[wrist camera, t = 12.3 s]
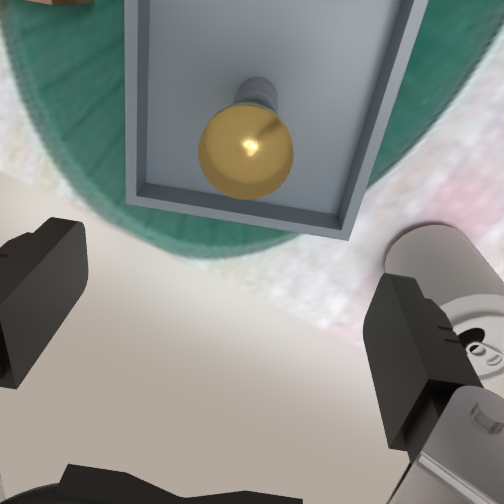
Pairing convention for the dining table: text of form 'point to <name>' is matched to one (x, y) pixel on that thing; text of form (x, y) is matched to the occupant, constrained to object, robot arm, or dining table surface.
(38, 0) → the pin block
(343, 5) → the tray
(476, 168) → the dining table surface
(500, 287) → the can
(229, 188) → the pin
